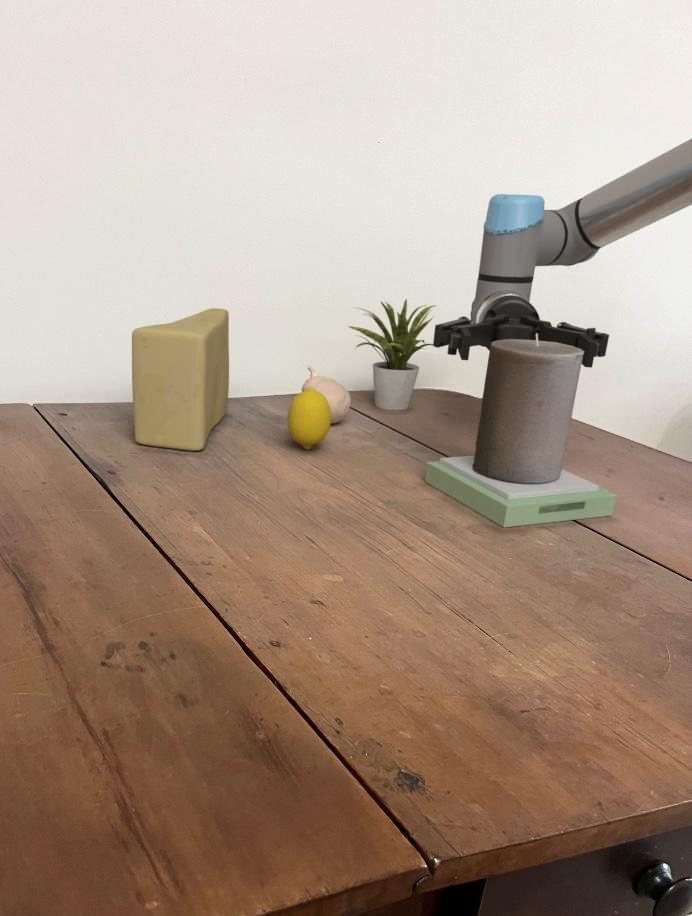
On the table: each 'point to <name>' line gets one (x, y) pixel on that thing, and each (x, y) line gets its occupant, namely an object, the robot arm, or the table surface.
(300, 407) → the lemon
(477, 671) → the table surface
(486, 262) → the robot arm
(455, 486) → the scale
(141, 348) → the cheese
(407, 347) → the house plant
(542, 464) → the pillar candle
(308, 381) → the garlic bulb
